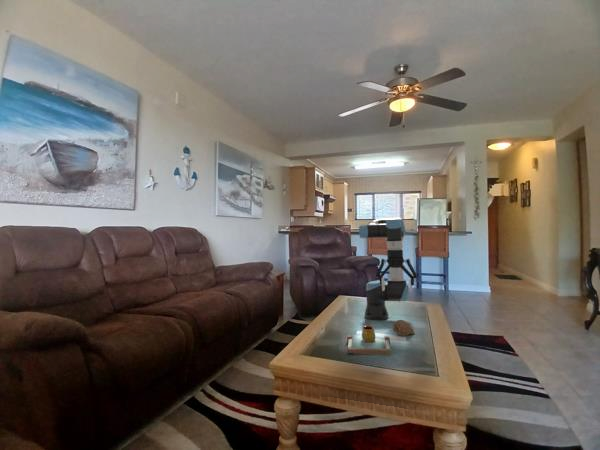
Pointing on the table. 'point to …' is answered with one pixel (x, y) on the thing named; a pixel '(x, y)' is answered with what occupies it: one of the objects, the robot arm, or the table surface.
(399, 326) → the seashell
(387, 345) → the pocket
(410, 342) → the table surface
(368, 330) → the mug
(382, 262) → the robot arm
